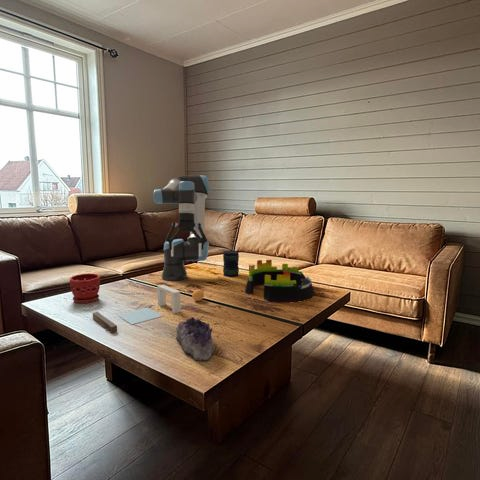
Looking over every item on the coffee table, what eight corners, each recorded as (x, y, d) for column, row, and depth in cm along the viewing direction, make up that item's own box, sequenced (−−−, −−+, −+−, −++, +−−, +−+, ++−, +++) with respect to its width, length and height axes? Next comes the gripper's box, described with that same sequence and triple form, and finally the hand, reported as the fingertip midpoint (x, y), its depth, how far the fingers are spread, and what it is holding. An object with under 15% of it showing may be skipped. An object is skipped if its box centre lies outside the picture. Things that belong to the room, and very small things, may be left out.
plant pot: (65, 302, 162) (63, 277, 160) (88, 295, 173) (87, 272, 172) (83, 306, 156) (82, 281, 154) (107, 298, 167) (105, 275, 166)
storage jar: (241, 276, 213) (241, 252, 210) (226, 277, 209) (226, 253, 207) (235, 272, 222) (235, 250, 220) (221, 274, 218) (220, 251, 216)
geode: (226, 357, 109) (223, 329, 107) (192, 370, 105) (187, 340, 102) (205, 331, 127) (201, 307, 125) (174, 341, 123) (170, 316, 120)
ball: (199, 298, 169) (199, 287, 168) (206, 300, 165) (206, 289, 164) (190, 300, 165) (189, 289, 164) (196, 303, 161) (196, 292, 160)
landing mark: (147, 307, 155) (147, 307, 155) (163, 316, 144) (163, 315, 144) (117, 315, 145) (117, 314, 145) (131, 324, 135) (131, 324, 135)
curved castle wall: (315, 306, 159) (316, 274, 157) (238, 300, 166) (238, 270, 164) (314, 285, 195) (315, 259, 193) (251, 281, 202) (251, 256, 200)
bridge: (163, 303, 161) (163, 284, 159) (180, 311, 150) (180, 291, 149) (158, 305, 159) (157, 285, 157) (174, 313, 148) (174, 292, 147)
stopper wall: (97, 317, 143) (97, 311, 143) (117, 331, 128) (117, 325, 128) (92, 318, 142) (92, 312, 141) (112, 333, 127) (111, 326, 127)
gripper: (161, 211, 160) (160, 256, 159) (213, 213, 168) (213, 256, 167) (159, 212, 167) (159, 256, 167) (209, 214, 175) (209, 256, 174)
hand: (186, 256), depth 167 cm, fingers open, 13 cm apart
